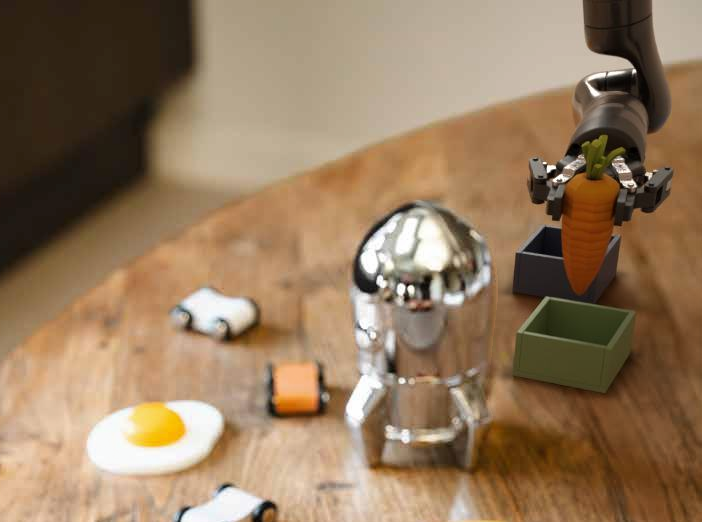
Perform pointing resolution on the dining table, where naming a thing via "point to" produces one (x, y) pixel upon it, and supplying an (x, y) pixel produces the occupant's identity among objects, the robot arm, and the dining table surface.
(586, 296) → the blue bin
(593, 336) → the green bin
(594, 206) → the carrot
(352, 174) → the dining table surface
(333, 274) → the dining table surface
